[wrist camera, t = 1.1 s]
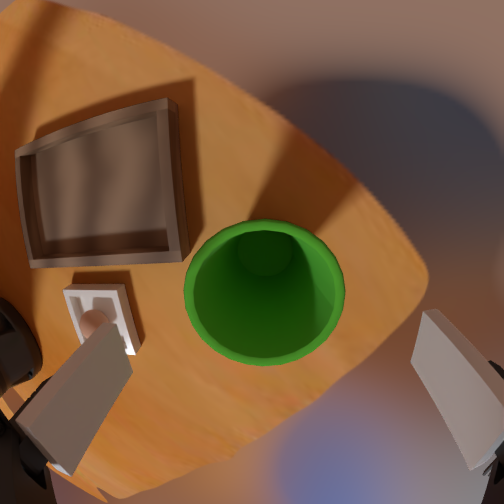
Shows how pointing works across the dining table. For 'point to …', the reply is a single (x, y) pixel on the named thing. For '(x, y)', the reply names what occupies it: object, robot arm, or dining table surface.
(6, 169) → the dining table surface
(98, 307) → the dish
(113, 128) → the tray
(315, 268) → the cup
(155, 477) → the dining table surface
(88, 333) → the ball
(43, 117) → the dining table surface
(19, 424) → the robot arm
